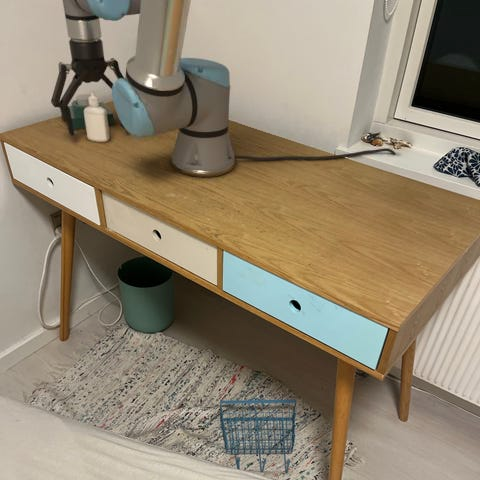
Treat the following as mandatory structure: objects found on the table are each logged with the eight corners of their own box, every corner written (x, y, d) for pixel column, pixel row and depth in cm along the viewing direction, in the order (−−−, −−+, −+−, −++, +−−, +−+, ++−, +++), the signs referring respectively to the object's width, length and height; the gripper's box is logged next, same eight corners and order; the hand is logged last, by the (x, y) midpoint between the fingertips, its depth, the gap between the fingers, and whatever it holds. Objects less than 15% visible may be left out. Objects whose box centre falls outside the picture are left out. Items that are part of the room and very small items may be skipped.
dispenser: (103, 112, 147) (101, 94, 144) (114, 124, 141) (112, 106, 138) (62, 117, 143) (59, 99, 139) (71, 130, 136) (67, 111, 133)
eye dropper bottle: (98, 144, 130) (92, 96, 122) (85, 138, 132) (77, 90, 124) (112, 140, 132) (106, 92, 124) (98, 134, 135) (92, 86, 127)
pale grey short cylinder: (91, 101, 141) (90, 93, 140) (95, 106, 138) (94, 98, 137) (75, 102, 139) (74, 95, 138) (79, 107, 136) (78, 100, 135)
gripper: (131, 32, 124) (139, 119, 138) (26, 38, 114) (45, 131, 128) (142, 38, 119) (148, 129, 133) (32, 46, 110) (52, 142, 123)
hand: (98, 130), depth 131 cm, fingers open, 13 cm apart
